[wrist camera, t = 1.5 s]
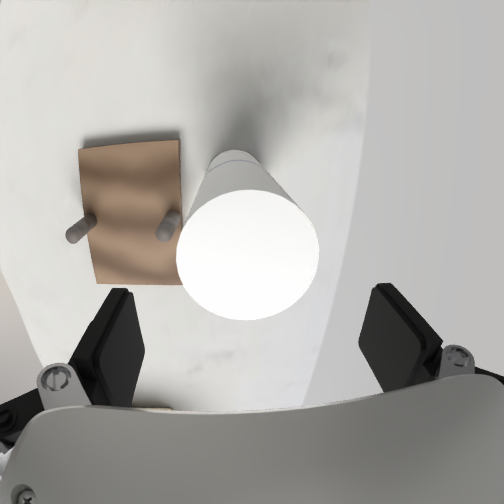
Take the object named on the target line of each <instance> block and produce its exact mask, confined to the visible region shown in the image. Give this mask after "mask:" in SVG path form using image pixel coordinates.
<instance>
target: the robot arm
mask: <svg viewBox="0 0 504 504" xmlns="http://www.w3.org/2000/svg"><path fill="white" fill-rule="evenodd" d="M442 342H443V340H442V339H441V338H440V337H439V336H438V334H437V333H436V332H435V331H434V330H433V329H432V327H431V326H430V325H429V324H428V323H427V322H426V321H425V319H424V318H423V317H422V316H421V315H420V314H419V313H418V312H417V311H416V309H415V308H414V307H413V306H412V305H411V304H410V303H409V302H408V301H407V300H406V298H405V297H404V296H403V295H402V294H401V293H400V292H399V291H398V290H397V289H396V288H395V287H394V286H393V285H392V284H391V283H380V284H377V285H376V287H374V288H373V289H372V291H371V296H370V300H369V304H368V307H367V311H366V315H365V319H364V322H363V326H362V330H361V333H360V337H359V342H358V343H359V347H360V349H361V351H362V353H363V355H364V356H365V358H366V360H367V362H368V364H369V366H370V367H371V369H372V371H373V373H374V375H375V377H376V379H377V380H378V382H379V384H380V386H381V388H382V390H383V392H384V393H380V394H376V395H371V396H366V397H361V398H355V399H350V400H343V401H337V402H331V403H325V404H317V405H310V406H300V407H291V408H280V409H267V410H250V411H171V410H152V409H138V408H130V407H131V403H132V399H133V395H134V391H135V387H136V384H137V380H138V376H139V373H140V369H141V365H142V362H143V358H144V354H145V348H144V343H143V339H142V334H141V330H140V326H139V321H138V316H137V311H136V307H135V301H134V296H133V293H132V292H129V291H128V289H127V288H112V289H111V291H110V293H109V294H108V296H107V298H106V299H105V301H104V303H103V304H102V306H101V308H100V309H99V311H98V313H97V314H96V316H95V318H94V320H93V321H91V323H90V324H89V326H88V328H87V329H86V331H85V333H84V335H83V336H82V338H81V340H80V342H79V344H78V346H77V347H76V349H75V351H74V353H73V355H72V357H71V359H70V361H69V362H68V364H65V363H54V364H51V365H49V366H47V367H45V368H44V369H43V370H42V371H41V372H40V374H39V375H38V377H37V387H38V388H36V389H34V390H32V391H30V392H28V393H25V394H23V395H21V396H19V397H17V398H14V399H12V400H10V401H8V402H5V403H3V404H1V405H0V504H504V377H503V376H500V375H498V374H495V373H492V372H489V371H486V370H483V369H480V368H478V367H475V361H474V357H473V356H472V354H471V353H470V352H469V351H468V350H467V349H465V348H464V347H461V346H458V345H449V346H446V347H445V348H444V349H442V347H441V345H442Z"/></svg>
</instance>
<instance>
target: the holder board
mask: <svg viewBox="0 0 504 504" xmlns="http://www.w3.org/2000/svg"><path fill="white" fill-rule="evenodd" d="M78 157H79V172H80V183H81V193H82V202H83V209H84V217H83V218H82V219H81V220H79V221H78V222H77V223H76V224H74V225H73V226H72V227H70V228H69V229H68V230H67V231H66V239H67V240H68V242H70V243H72V244H75V243H77V242H78V241H79V240H80V239H81V238H82V237H83V236H85V235H86V234H87V236H88V242H89V248H90V253H91V258H92V263H93V268H94V273H95V277H96V282H97V284H132V285H183V284H182V281H181V279H180V277H179V274H178V269H177V263H176V251H177V244H178V241H179V237H180V234H181V231H182V229H183V226H182V205H181V173H180V140H162V141H147V142H135V143H124V144H115V145H106V146H98V147H90V148H83V149H79V150H78Z"/></svg>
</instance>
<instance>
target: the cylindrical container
mask: <svg viewBox="0 0 504 504" xmlns="http://www.w3.org/2000/svg"><path fill="white" fill-rule="evenodd" d="M318 262H319V245H318V239H317V235H316V233H315V230H314V228H313V225H312V224H311V222H310V221H309V219H308V218H307V216H306V215H305V213H304V212H303V211H302V210H301V209H300V208H299V206H298V205H297V204H296V203H295V202H294V201H293V200H292V199H291V197H290V196H289V195H288V194H287V193H286V192H285V191H284V189H283V188H282V187H281V186H280V185H279V184H278V183H277V182H276V181H275V179H274V178H273V177H272V176H271V175H270V174H269V173H268V172H267V171H266V170H265V169H264V167H263V166H262V165H261V164H260V163H259V162H258V161H257V160H256V159H255V158H254V157H253V156H252V155H250V154H249V153H247V152H244V151H242V150H228V151H225V152H223V153H221V154H219V155H218V156H216V157H215V158H214V159H213V161H212V162H211V164H210V165H209V168H208V170H207V172H206V174H205V177H204V179H203V181H202V184H201V186H200V188H199V191H198V193H197V195H196V198H195V200H194V202H193V205H192V207H191V209H190V212H189V214H188V217H187V219H186V221H185V224H184V226H183V229H182V231H181V234H180V237H179V241H178V244H177V251H176V263H177V269H178V274H179V277H180V279H181V281H182V284H183V286H184V287H185V289H186V290H187V292H188V293H189V295H190V296H191V297H192V298H193V299H194V300H195V301H196V302H197V303H198V304H200V305H201V306H202V307H204V308H205V309H207V310H208V311H210V312H212V313H215V314H217V315H219V316H222V317H226V318H230V319H237V320H253V319H261V318H265V317H269V316H272V315H274V314H277V313H279V312H281V311H283V310H285V309H286V308H288V307H289V306H291V305H292V304H294V303H295V302H296V301H297V300H298V299H299V298H300V297H301V296H302V295H303V294H304V292H305V291H306V290H307V289H308V287H309V286H310V284H311V282H312V280H313V278H314V276H315V274H316V270H317V266H318Z"/></svg>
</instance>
